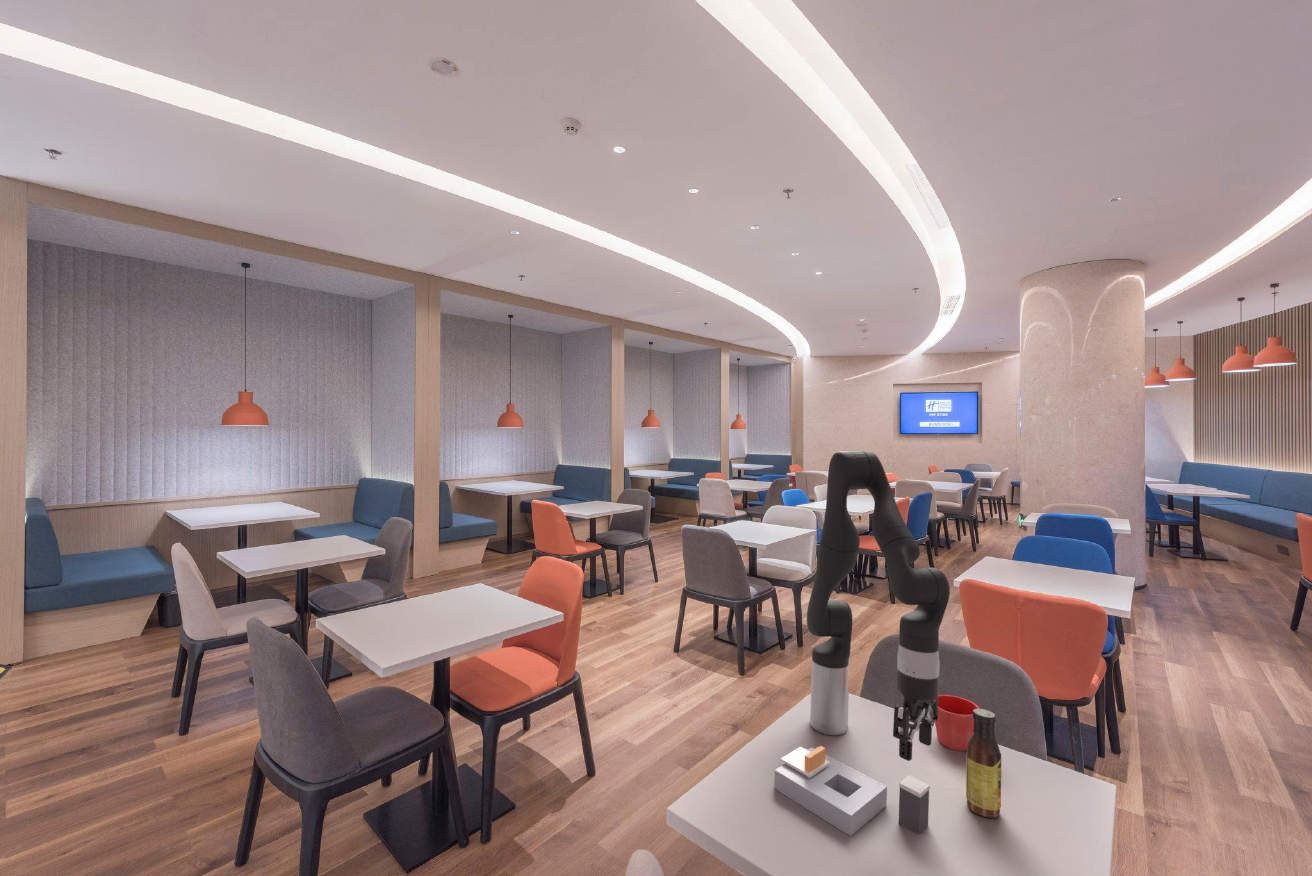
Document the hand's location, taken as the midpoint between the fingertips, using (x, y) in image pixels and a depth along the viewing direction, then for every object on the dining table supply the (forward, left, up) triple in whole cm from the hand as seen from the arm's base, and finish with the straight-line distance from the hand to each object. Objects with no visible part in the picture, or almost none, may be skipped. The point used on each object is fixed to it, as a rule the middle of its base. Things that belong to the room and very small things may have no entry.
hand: (915, 750), depth 108 cm
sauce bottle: (-16, +7, -15) cm, 23 cm away
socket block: (+6, -15, -15) cm, 22 cm away
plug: (0, 0, -15) cm, 15 cm away
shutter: (+6, -21, -10) cm, 24 cm away
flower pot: (-38, -7, -15) cm, 41 cm away
